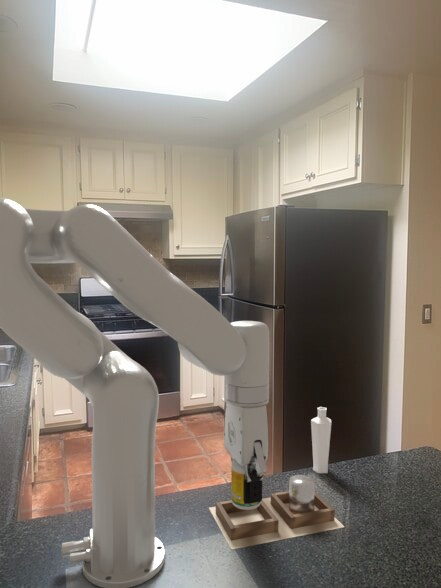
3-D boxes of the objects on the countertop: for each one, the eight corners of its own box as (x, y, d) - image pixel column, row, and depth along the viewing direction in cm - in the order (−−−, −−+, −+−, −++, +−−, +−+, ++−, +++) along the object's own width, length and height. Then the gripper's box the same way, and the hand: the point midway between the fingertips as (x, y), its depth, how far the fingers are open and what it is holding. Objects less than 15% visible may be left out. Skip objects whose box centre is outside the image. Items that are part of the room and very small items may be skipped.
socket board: (231, 555, 72) (231, 537, 71) (208, 512, 84) (208, 497, 84) (344, 532, 78) (345, 515, 78) (308, 496, 90) (308, 481, 90)
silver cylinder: (295, 521, 80) (296, 488, 79) (284, 507, 84) (284, 476, 84) (319, 516, 81) (319, 484, 81) (306, 503, 86) (307, 473, 85)
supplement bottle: (249, 492, 83) (249, 441, 82) (267, 505, 78) (268, 451, 78) (225, 500, 80) (225, 448, 79) (243, 514, 75) (243, 458, 75)
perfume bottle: (323, 481, 97) (325, 413, 96) (307, 474, 100) (308, 408, 99) (335, 474, 100) (337, 409, 99) (319, 468, 103) (320, 404, 102)
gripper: (212, 381, 85) (211, 474, 86) (244, 409, 69) (243, 523, 70) (249, 378, 87) (248, 469, 88) (288, 405, 71) (287, 515, 72)
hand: (246, 492), depth 79 cm, fingers closed on supplement bottle, 5 cm apart
